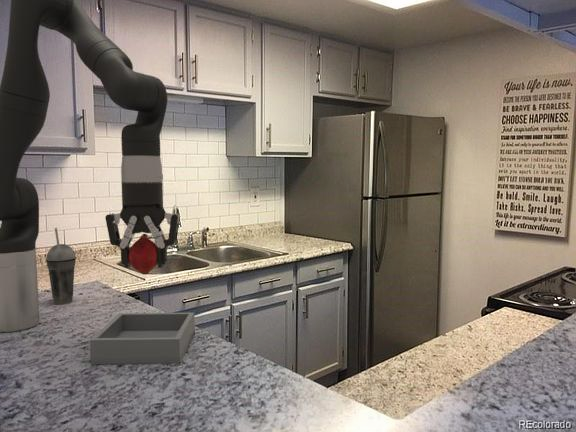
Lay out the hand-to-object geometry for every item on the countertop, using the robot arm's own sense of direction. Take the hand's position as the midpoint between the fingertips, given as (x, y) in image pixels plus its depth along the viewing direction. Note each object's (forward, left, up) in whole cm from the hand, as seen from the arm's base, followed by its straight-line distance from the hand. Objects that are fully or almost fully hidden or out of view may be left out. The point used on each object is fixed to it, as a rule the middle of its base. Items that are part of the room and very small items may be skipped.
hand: (144, 266), depth 91 cm
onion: (0, 0, -2) cm, 2 cm away
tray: (0, 0, -16) cm, 16 cm away
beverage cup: (-31, +33, -16) cm, 48 cm away
